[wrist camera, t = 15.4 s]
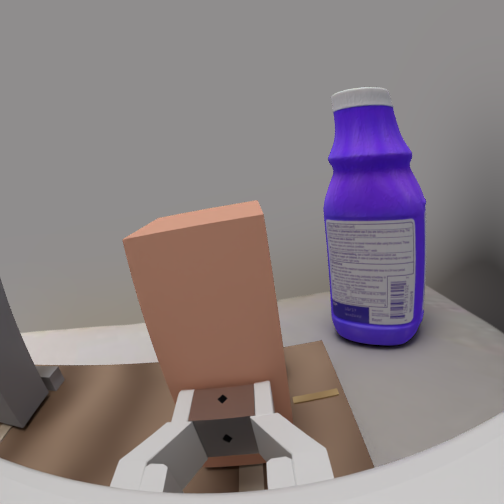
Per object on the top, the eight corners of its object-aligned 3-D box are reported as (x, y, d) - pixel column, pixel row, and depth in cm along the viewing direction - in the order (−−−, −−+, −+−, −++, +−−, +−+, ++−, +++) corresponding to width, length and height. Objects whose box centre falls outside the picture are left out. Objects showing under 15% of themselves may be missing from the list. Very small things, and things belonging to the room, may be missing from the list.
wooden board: (-53, 476, 7) (-76, 447, 7) (25, 377, 21) (13, 352, 20) (388, 536, 7) (402, 512, 6) (322, 358, 20) (320, 325, 20)
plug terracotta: (203, 467, 11) (122, 239, 8) (210, 409, 15) (158, 217, 12) (297, 458, 11) (263, 214, 8) (287, 400, 15) (257, 200, 12)
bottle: (426, 316, 22) (413, 94, 18) (418, 355, 18) (404, 77, 14) (347, 310, 27) (324, 106, 22) (322, 344, 22) (291, 96, 18)
